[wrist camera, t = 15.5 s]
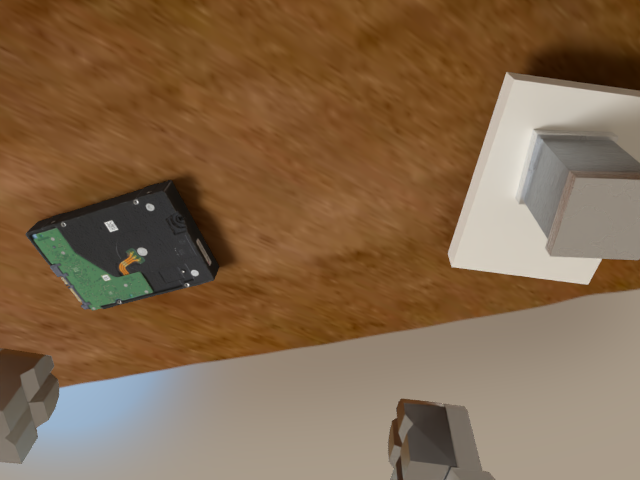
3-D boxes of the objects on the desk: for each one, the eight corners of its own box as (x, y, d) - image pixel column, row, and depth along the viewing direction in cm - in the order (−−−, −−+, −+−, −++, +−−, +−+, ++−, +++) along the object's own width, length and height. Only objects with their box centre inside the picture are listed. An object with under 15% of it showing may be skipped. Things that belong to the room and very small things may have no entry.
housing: (533, 129, 35) (576, 177, 29) (612, 131, 35) (674, 181, 28) (515, 198, 38) (550, 256, 32) (588, 200, 38) (638, 260, 31)
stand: (499, 65, 37) (514, 79, 34) (655, 87, 37) (685, 103, 34) (444, 241, 46) (451, 266, 42) (570, 258, 46) (588, 284, 43)
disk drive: (172, 174, 44) (37, 219, 47) (162, 188, 42) (21, 235, 45) (222, 263, 49) (98, 299, 52) (216, 280, 47) (86, 317, 50)
